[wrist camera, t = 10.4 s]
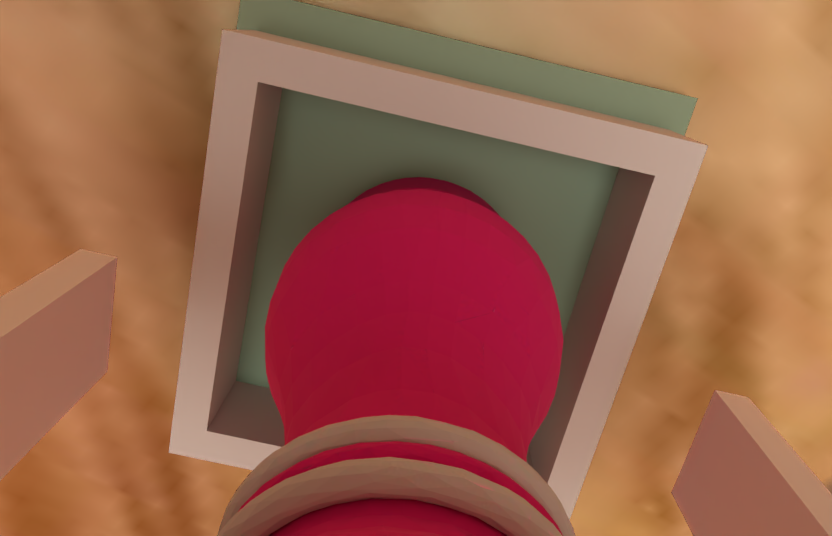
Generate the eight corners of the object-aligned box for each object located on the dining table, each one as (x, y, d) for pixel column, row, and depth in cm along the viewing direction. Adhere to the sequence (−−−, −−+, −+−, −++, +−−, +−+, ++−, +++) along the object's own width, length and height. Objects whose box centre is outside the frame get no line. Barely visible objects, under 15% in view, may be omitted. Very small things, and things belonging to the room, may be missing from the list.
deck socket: (251, -10, 19) (206, -21, 16) (685, 95, 20) (743, 109, 16) (193, 407, 24) (148, 477, 20) (549, 483, 25) (569, 564, 21)
